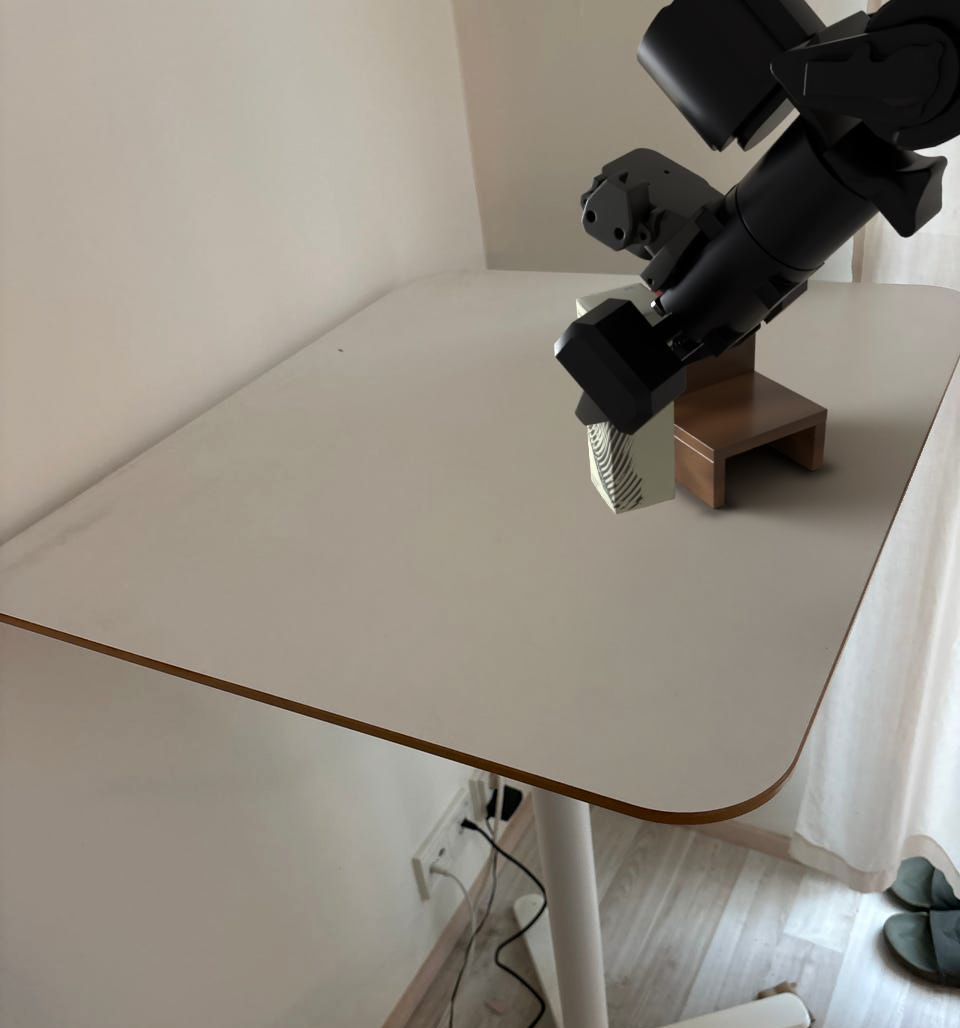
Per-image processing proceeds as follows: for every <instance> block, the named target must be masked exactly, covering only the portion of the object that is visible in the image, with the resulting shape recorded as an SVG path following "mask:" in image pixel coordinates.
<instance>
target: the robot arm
mask: <svg viewBox="0 0 960 1028" xmlns="http://www.w3.org/2000/svg"><path fill="white" fill-rule="evenodd" d="M635 55H636V61H637V62H638V64H639V65H640V67H642V68H643V70H644V71H645V72H646V73H647V74H648V75H649V77H650V78H651V79H652V80H653V81H654V83H655V84H656V85H657V86H658V88H659V89H660V90H661V92H663V93H664V95H665V96H666V97H667V98H668V99H669V101H670V102H671V103H672V104H673V106H674V107H675V108H676V109H677V110H678V112H679V113H681V115H682V116H683V117H684V119H685V120H686V121H687V122H688V124H689V125H690V126H691V127H692V128H693V129H694V131H695V132H696V133H697V135H698V136H699V137H700V138H701V139H702V140H703V141H704V143H705V144H706V145H707V146H708V148H709V149H710V150H711V151H713V152H715V151H716V152H717V151H718V152H719V153H722V152H724V150H726V149H727V148H728V147H729V146H730V145H731V144H732V143H733V142H734V141H735V140H736V144H737V145H738V147H739V148H740V149H741V150H742V151H743V152H745V153H746V152H749V151H750V150H752V149H753V148H755V147H756V146H758V145H759V144H760V143H761V142H762V141H764V140H765V139H766V138H767V137H768V136H769V135H770V134H772V133H773V131H775V130H776V129H777V128H778V127H779V126H780V125H781V123H783V121H785V119H786V118H788V116H789V115H791V113H792V112H793V111H794V110H796V111H797V112H798V113H799V114H798V115H797V116H796V118H795V119H794V120H793V121H792V122H791V123H790V125H788V127H787V128H786V129H785V130H784V131H783V132H782V133H781V134H780V136H779V137H778V138H777V139H776V140H775V141H774V142H773V143H772V145H770V147H769V148H768V149H767V150H766V151H765V153H763V154H762V156H761V157H760V158H759V159H758V160H757V161H756V163H754V164H753V166H752V167H751V168H750V170H748V172H747V173H746V174H745V175H744V176H743V177H742V179H740V181H739V182H737V183H736V184H734V185H733V186H732V187H731V188H730V189H729V190H728V191H727V193H725V194H723V193H722V192H721V191H719V190H717V189H716V188H715V187H713V186H711V185H710V183H709V182H708V181H707V180H706V179H705V178H704V177H702V176H701V175H699V174H697V173H695V172H693V170H690V169H688V168H686V167H685V166H683V165H682V164H680V163H678V162H676V161H674V160H673V159H671V158H669V157H667V156H666V155H664V154H662V153H661V152H659V151H656V150H654V149H651V148H646V147H638V148H635V149H632V150H630V151H629V152H627V153H625V154H623V155H621V156H619V157H617V158H615V159H613V160H612V161H609V162H608V163H606V164H604V165H603V166H602V167H601V169H600V173H599V174H598V175H596V176H594V177H593V179H592V182H591V185H590V187H589V189H588V190H587V191H586V192H584V193H582V194H581V195H580V196H579V201H578V202H579V207H580V209H581V210H582V211H583V212H582V216H581V220H580V221H581V226H582V228H583V231H584V232H585V233H586V235H588V236H589V237H590V238H592V239H594V240H596V241H597V242H599V243H601V244H603V245H604V246H605V247H607V248H609V249H611V250H612V251H614V252H621V251H624V250H625V251H627V252H629V253H630V254H632V255H634V256H636V258H639V259H641V260H644V261H649V262H648V264H647V265H646V266H645V267H644V268H643V269H642V271H641V272H640V273H639V274H638V276H639V277H640V278H641V279H642V280H643V282H644V283H645V284H646V286H647V287H648V289H649V290H652V291H653V292H656V291H658V290H659V291H660V292H661V293H662V294H661V295H660V296H659V297H657V298H656V299H655V300H654V301H653V302H652V303H651V306H652V308H653V309H654V310H655V311H656V313H657V314H658V315H659V316H661V317H662V318H663V317H664V316H665V315H668V316H667V317H666V318H664V319H663V320H661V321H660V322H659V323H657V324H656V325H655V326H652V325H651V324H650V323H649V322H648V320H647V319H646V318H645V317H644V316H643V314H642V313H641V312H640V311H639V310H638V309H637V307H636V306H635V305H634V304H633V303H632V301H631V300H625V299H616V298H608V299H607V300H605V301H604V302H602V303H601V304H599V305H598V306H596V307H595V308H593V309H592V310H590V311H589V312H587V313H586V314H584V315H583V316H581V317H580V318H578V317H577V319H575V320H573V321H572V322H571V323H570V325H568V327H567V328H566V329H565V330H564V332H563V333H562V334H561V335H560V336H559V338H558V339H557V340H556V341H555V343H553V346H554V347H553V349H554V357H555V358H556V360H557V361H558V362H559V363H560V365H561V366H562V367H563V368H564V369H565V370H566V372H567V373H568V374H569V375H570V376H571V377H572V379H573V380H574V381H575V382H576V383H577V385H578V386H579V387H580V388H581V389H582V392H581V395H580V397H579V400H578V402H577V404H576V407H575V410H574V415H575V417H576V418H577V419H578V420H579V421H580V423H581V424H582V425H583V426H584V427H587V426H589V425H594V424H599V423H604V422H609V421H610V422H611V423H612V425H613V426H614V427H615V428H616V429H617V430H618V432H620V433H624V434H628V435H631V436H632V435H633V434H635V433H636V432H637V431H638V430H639V429H641V428H642V427H643V426H644V425H645V424H647V423H648V422H649V421H650V420H652V419H653V418H654V417H655V416H656V415H658V414H659V413H660V412H661V411H662V410H663V409H665V408H666V407H667V406H668V405H669V404H670V403H671V402H673V401H674V400H675V399H676V398H677V397H678V396H679V395H680V394H681V393H682V392H684V391H685V390H686V366H687V365H690V364H692V363H695V362H698V361H700V360H703V359H705V358H708V357H710V356H713V355H714V356H715V357H716V358H718V357H719V356H720V355H721V354H722V353H724V352H725V351H726V350H729V349H732V348H734V347H737V346H739V345H741V344H742V343H744V342H745V341H746V340H747V339H748V338H750V337H751V336H752V335H753V334H755V333H756V334H757V332H759V330H761V328H762V322H764V323H765V324H766V325H768V324H770V323H771V322H772V321H773V320H775V319H776V318H777V317H779V315H781V314H782V313H783V312H784V311H786V310H787V309H788V308H789V307H790V306H791V305H792V304H793V303H795V302H796V300H798V299H799V298H800V297H801V296H803V294H805V293H806V292H807V291H808V287H809V278H811V277H812V276H813V275H814V274H816V273H817V272H818V271H819V270H820V269H821V268H822V267H823V266H824V265H825V264H826V261H827V260H828V259H829V258H830V257H832V255H834V254H835V253H836V252H837V251H838V250H839V249H840V248H841V247H842V246H843V245H845V244H846V242H848V241H849V240H850V239H851V238H852V237H854V236H855V234H857V233H858V232H859V231H861V229H862V228H863V227H864V226H866V225H867V223H869V222H870V221H871V220H872V219H873V218H874V217H875V216H877V214H878V213H880V214H881V215H882V217H883V218H884V219H885V220H886V221H887V222H888V224H889V225H890V226H891V227H892V228H893V230H894V231H895V233H897V235H898V236H900V237H901V238H904V239H908V238H910V237H912V236H914V235H915V234H916V233H917V232H919V230H921V228H923V227H924V226H925V225H927V224H928V223H929V222H931V220H932V219H933V218H935V217H936V216H937V215H938V214H939V213H940V212H941V211H942V208H943V177H944V173H945V170H946V168H947V167H948V163H949V161H948V158H947V157H946V156H945V155H937V156H927V155H923V154H920V153H918V152H916V151H920V150H927V149H932V148H937V147H939V146H941V145H943V144H945V143H947V142H950V141H952V140H954V139H955V138H957V137H959V136H960V0H888V1H886V2H885V3H883V4H881V6H880V7H879V8H878V9H877V10H876V11H873V12H869V13H866V12H865V11H864V10H858V11H857V12H855V13H853V14H851V15H848V16H846V17H844V18H843V19H840V20H838V21H836V22H834V23H832V24H830V25H828V26H827V25H826V24H825V23H824V22H823V20H822V19H821V18H820V17H819V16H818V14H817V13H816V12H815V11H814V10H813V8H812V7H811V6H810V4H809V3H808V2H807V1H806V0H673V1H672V2H670V4H667V5H665V6H662V8H661V9H660V10H659V11H658V12H657V13H656V15H655V16H654V18H653V19H652V21H651V22H650V24H649V26H648V27H647V29H646V30H645V33H644V34H643V36H642V37H641V40H640V42H639V45H638V47H637V51H636V54H635ZM670 341H672V345H671V346H669V345H668V343H669V342H670Z"/></svg>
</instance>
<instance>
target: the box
mask: <svg viewBox="0 0 960 1028" xmlns="http://www.w3.org/2000/svg"><path fill="white" fill-rule="evenodd" d="M657 297H658V295H657V294H655V293H654V292H652V291H651V289H650V288H649V287H648V286H645V285H644V284H643V283H642V282H635V283H631V284H627V285H623V286H618V287H615V288H611V289H607V290H604V291H603V290H602V291H599V292H594V293H591V294H587V295H583V296H579V297H577V298H576V299H575V303H576V304H575V305H576V313H577V314H576V315H577V319H578V318H580V317H581V316H583V315H584V314H586V313H587V312H589V311H590V310H592V309H593V308H595V307H596V306H598V305H599V304H601V303H602V302H604V301H605V300H607V299H608V298H616V299H625V300H631V301H632V303H633V304H634V305H635V306H636V307H637V309H638V310H639V311H640V312H641V313H642V314H643V316H644V317H645V318H646V319H647V320H648V322H649V323H650V324H651V325H652V326H655V325H656V324H657V323H659V322H660V321H661V320H663V319H664V318H666V317H667V316H668V315H665V316H664V317H663V318H662V317H661V316H659V315H658V314H657V313H656V311H655V310H654V309H653V308H652V306H651V303H652V302H653V301H654V300H655V299H656V298H657ZM668 345H669V346H671V345H672V341H670V342H669V343H668ZM586 430H587V431H586V433H587V443H588V455H589V465H590V466H589V467H590V478H591V479H590V480H591V482H592V483H593V485H594V487H595V488H596V490H597V491H598V494H600V496H601V497H602V499H603V500H604V501H605V503H606V504H607V505H608V506H609V508H610V509H611V510H612V512H613V513H614V514H615V515H619V514H624V513H627V512H631V511H632V512H633V511H635V510H639V509H644V508H647V507H651V506H654V505H657V504H662V503H665V502H669V501H671V500H674V499H676V480H675V449H674V401H673V402H671V403H670V404H669V405H668V406H667V407H666V408H665V409H663V410H662V411H661V412H660V413H659V414H658V415H656V416H655V417H654V418H653V419H652V420H650V421H649V422H648V423H647V424H645V425H644V426H643V427H642V428H641V429H639V430H638V431H637V432H636V433H635V434H633V435H632V436H631V435H628V434H624V433H620V432H618V430H617V429H616V428H615V427H614V426H613V425H612V423H611V422H610V421H609V422H604V423H599V424H594V425H589V426H586Z"/></svg>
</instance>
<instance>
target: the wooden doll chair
mask: <svg viewBox="0 0 960 1028" xmlns="http://www.w3.org/2000/svg"><path fill="white" fill-rule="evenodd" d="M756 336H757V332H756V333H755V334H753V335H752V336H751V337H750V338H748V339H747V340H746V341H745V342H744V343H742V344H741V345H739V346H737V347H734V348H732V349H729V350H726V351H725V352H724V353H722V354H721V355H720V356H719V357H718V358H716V357H715V356H714V355H713V356H710V357H708V358H705V359H703V360H700V361H698V362H695V363H692V364H690V365H687V366H686V390H685V391H684V392H682V393H681V394H680V395H679V396H678V397H677V398H676V399H675V400H674V449H675V482H677V483H678V484H680V485H681V486H683V487H684V488H685V489H687V490H688V491H689V492H690V493H692V494H694V496H696V497H697V498H698V499H699V500H701V501H702V502H704V503H705V504H707V505H708V506H709V507H710V508H712V509H717V508H719V507H724V505H725V499H726V498H725V493H726V489H725V488H726V459H728V458H731V457H733V456H735V455H738V454H741V453H744V452H747V451H749V450H752V449H754V448H758V447H760V446H763V445H766V444H767V445H769V446H770V447H772V448H774V449H775V450H777V451H778V452H780V453H782V454H783V455H785V456H786V457H788V458H790V459H792V460H793V461H795V462H796V463H798V464H800V465H801V466H803V467H804V468H805V469H807V470H810V471H811V472H814V471H817V470H819V469H822V468H823V465H824V454H825V453H824V452H825V444H826V443H825V441H826V432H827V431H826V429H827V420H828V410H829V409H828V408H826V407H824V406H822V405H820V404H819V403H817V402H816V401H813V400H811V399H809V398H807V397H805V396H804V395H802V394H800V393H798V392H796V391H794V390H792V389H790V388H788V387H786V386H785V385H783V384H781V383H779V382H777V381H775V380H774V379H771V378H770V377H767V376H766V375H764V374H762V373H760V372H758V371H756V368H755V367H756V338H757V337H756Z"/></svg>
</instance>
